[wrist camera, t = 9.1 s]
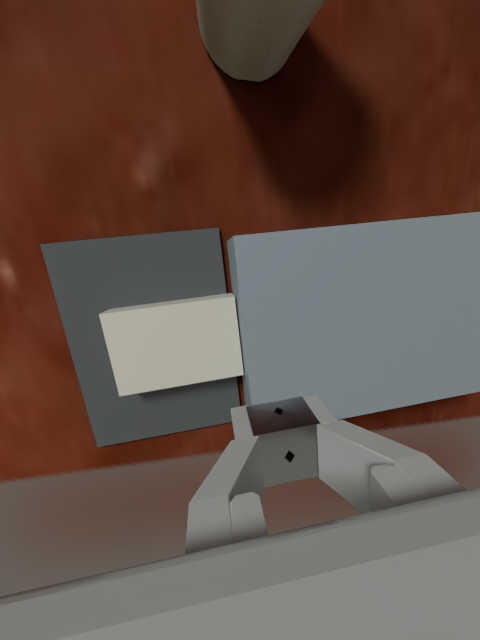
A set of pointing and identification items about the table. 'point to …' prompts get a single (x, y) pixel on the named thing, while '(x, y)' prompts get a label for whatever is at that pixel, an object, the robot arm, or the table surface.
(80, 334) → the mat
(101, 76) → the table surface
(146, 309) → the cream flat block
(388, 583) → the robot arm
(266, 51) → the flower pot
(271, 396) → the plate
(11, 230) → the table surface
